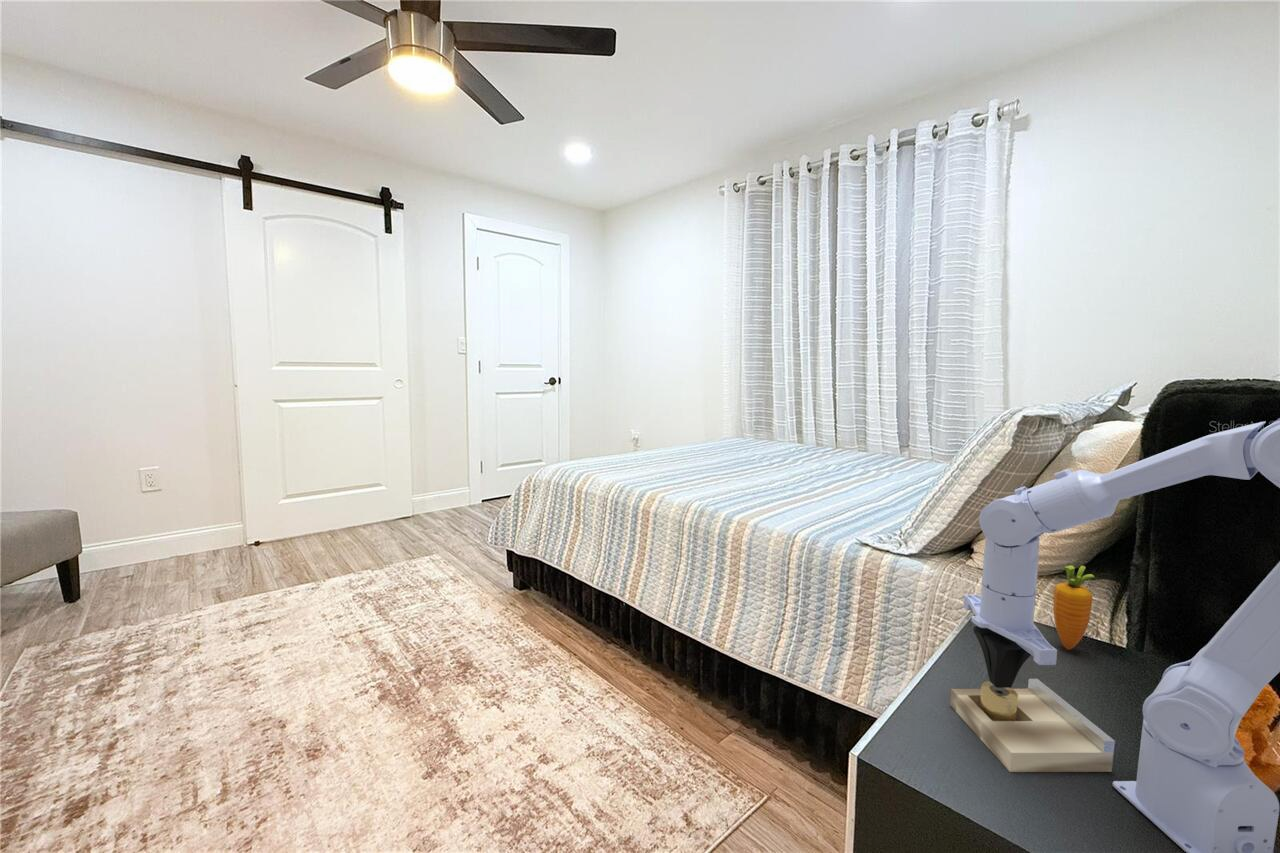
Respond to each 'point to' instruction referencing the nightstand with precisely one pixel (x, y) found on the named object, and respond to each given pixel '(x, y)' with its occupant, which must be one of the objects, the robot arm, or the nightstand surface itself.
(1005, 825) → the nightstand surface
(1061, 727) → the jig
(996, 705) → the bushing
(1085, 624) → the carrot
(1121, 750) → the nightstand surface
